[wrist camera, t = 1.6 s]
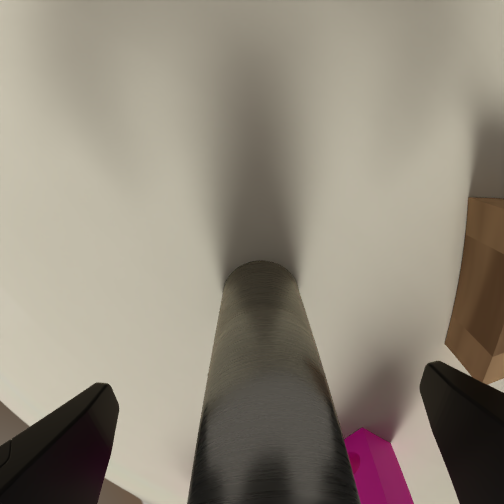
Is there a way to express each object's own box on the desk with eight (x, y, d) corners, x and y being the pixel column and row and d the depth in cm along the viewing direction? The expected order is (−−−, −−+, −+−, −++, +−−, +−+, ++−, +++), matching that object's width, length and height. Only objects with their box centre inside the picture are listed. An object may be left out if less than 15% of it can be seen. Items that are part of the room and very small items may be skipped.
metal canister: (297, 258, 13) (381, 481, 3) (298, 325, 14) (346, 541, 4) (219, 263, 13) (163, 495, 3) (226, 329, 14) (202, 549, 4)
